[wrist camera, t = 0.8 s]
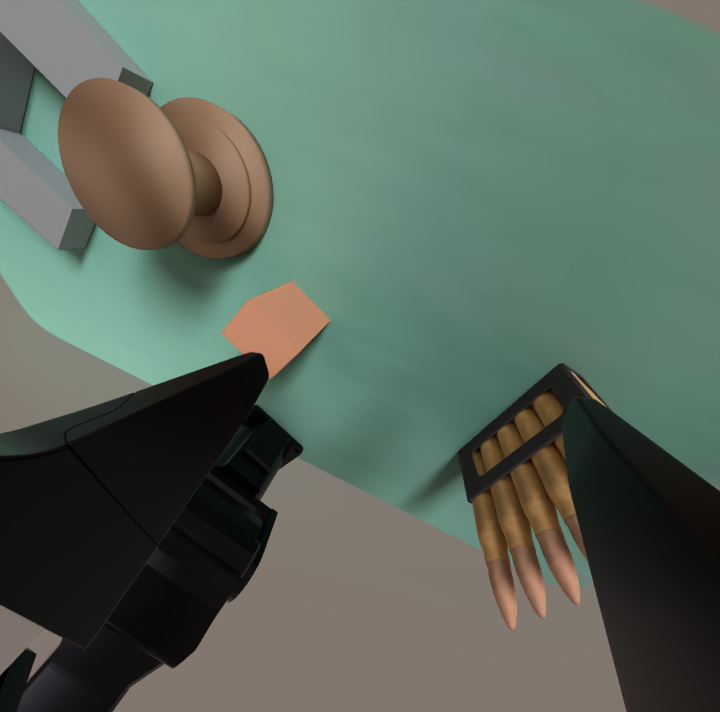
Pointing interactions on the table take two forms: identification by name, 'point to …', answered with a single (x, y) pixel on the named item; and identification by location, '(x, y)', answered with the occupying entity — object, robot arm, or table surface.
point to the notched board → (65, 71)
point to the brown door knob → (164, 170)
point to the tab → (276, 325)
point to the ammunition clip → (526, 491)
